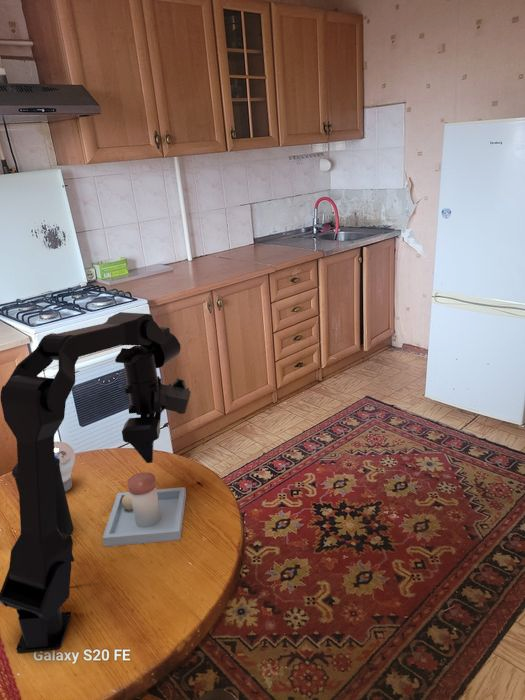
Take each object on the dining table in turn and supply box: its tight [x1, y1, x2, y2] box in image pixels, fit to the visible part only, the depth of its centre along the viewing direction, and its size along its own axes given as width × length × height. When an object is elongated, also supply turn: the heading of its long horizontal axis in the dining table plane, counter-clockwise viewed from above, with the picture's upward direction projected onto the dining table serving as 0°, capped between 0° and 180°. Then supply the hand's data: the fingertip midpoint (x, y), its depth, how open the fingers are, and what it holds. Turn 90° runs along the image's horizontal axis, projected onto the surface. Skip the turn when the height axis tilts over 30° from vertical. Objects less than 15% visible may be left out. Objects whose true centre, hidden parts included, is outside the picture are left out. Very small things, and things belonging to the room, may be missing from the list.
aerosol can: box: [11, 456, 74, 537], centre depth 100 cm, size 8×8×20 cm
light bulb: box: [54, 441, 76, 493], centre depth 115 cm, size 7×7×12 cm
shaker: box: [126, 471, 161, 527], centre depth 104 cm, size 5×5×9 cm
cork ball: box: [122, 494, 133, 510], centre depth 109 cm, size 3×3×3 cm
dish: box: [102, 486, 187, 548], centre depth 105 cm, size 14×14×2 cm
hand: (153, 450), depth 106 cm, fingers open, 9 cm apart
